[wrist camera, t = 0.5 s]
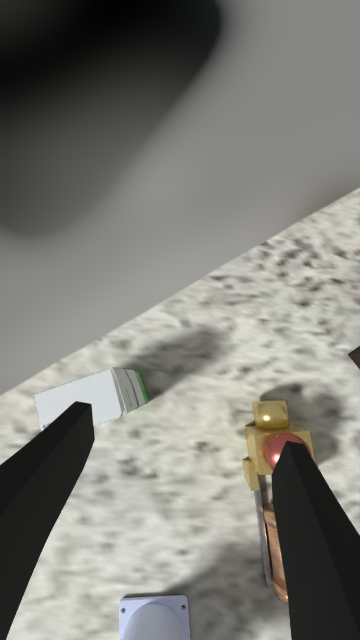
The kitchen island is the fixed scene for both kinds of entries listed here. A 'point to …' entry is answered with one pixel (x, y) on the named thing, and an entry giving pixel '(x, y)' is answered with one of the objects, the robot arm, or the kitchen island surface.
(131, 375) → the ink box
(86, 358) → the kitchen island surface
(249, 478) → the valve
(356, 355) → the toy
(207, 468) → the kitchen island surface
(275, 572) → the coupling
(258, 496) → the rails
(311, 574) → the robot arm
